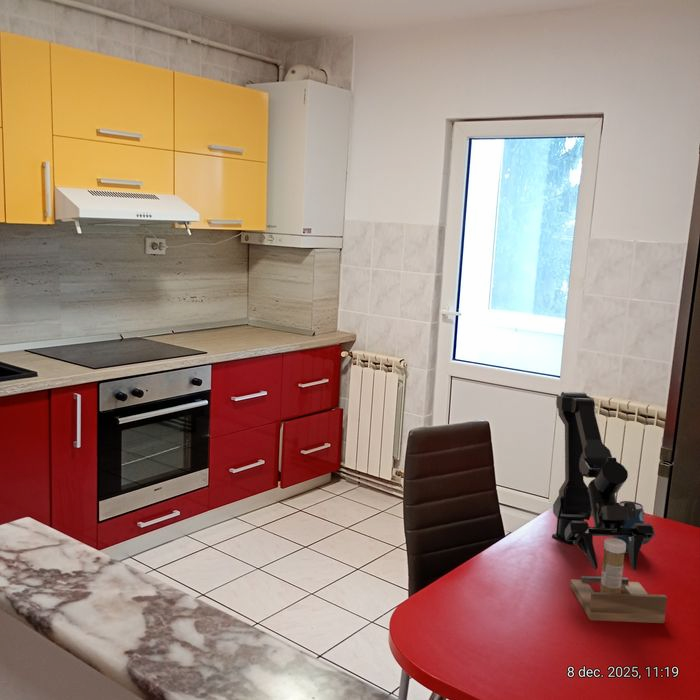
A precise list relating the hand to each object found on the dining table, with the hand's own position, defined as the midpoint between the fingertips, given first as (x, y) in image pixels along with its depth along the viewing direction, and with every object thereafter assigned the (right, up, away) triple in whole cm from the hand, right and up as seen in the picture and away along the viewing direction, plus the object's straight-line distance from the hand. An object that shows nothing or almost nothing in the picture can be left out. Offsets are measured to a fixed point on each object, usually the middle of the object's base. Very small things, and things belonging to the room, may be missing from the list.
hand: (615, 569), depth 166 cm
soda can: (+13, -4, +30) cm, 33 cm away
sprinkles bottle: (0, -7, +3) cm, 8 cm away
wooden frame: (0, -8, 0) cm, 8 cm away
